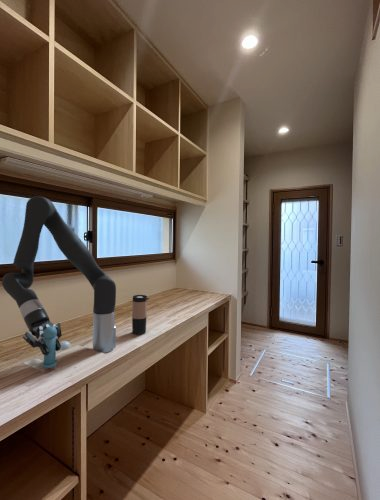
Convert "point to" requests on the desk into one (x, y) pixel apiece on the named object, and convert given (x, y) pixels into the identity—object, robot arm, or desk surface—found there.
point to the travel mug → (139, 314)
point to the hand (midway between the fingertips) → (53, 351)
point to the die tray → (64, 345)
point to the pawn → (50, 347)
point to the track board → (40, 366)
